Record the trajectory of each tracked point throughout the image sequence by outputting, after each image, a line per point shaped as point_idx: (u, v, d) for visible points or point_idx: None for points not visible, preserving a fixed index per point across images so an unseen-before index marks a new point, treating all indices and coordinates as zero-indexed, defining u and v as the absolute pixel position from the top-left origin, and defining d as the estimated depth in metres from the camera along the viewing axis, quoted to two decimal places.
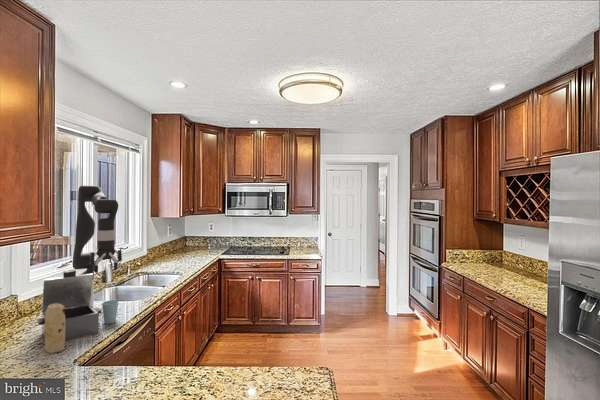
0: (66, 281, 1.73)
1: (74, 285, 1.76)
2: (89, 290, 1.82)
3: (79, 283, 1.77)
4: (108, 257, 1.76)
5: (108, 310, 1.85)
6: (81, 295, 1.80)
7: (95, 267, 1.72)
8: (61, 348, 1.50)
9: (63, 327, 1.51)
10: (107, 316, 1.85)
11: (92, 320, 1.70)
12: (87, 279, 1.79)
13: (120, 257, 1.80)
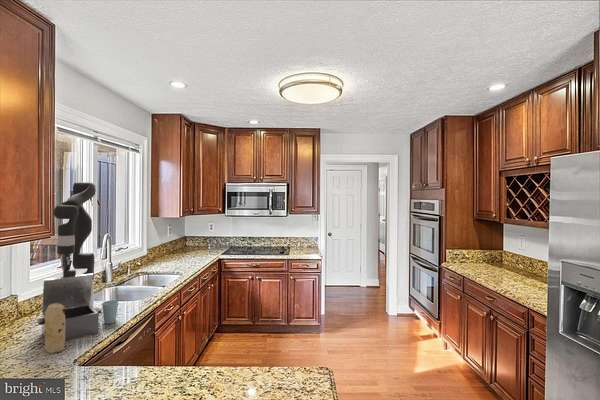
0: (66, 281, 1.73)
1: (74, 285, 1.76)
2: (89, 290, 1.82)
3: (79, 283, 1.77)
4: None
5: (108, 310, 1.85)
6: (81, 295, 1.80)
7: None
8: (61, 348, 1.50)
9: (63, 327, 1.51)
10: (107, 316, 1.85)
11: (92, 320, 1.70)
12: (87, 279, 1.79)
13: None
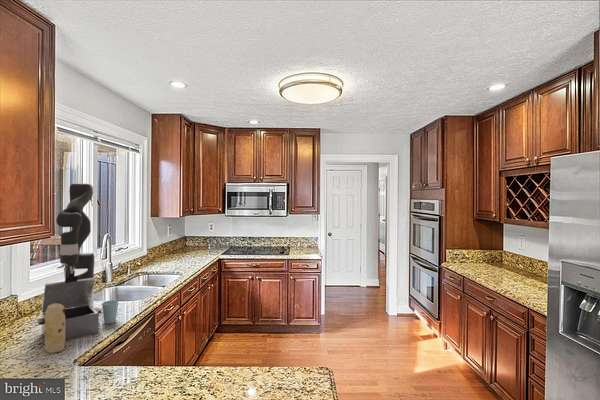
0: (67, 285, 1.71)
1: (75, 289, 1.74)
2: (90, 292, 1.81)
3: (80, 286, 1.75)
4: None
5: (108, 310, 1.85)
6: (82, 297, 1.79)
7: None
8: (61, 348, 1.50)
9: (63, 327, 1.51)
10: (107, 316, 1.85)
11: (92, 320, 1.70)
12: (89, 283, 1.77)
13: None
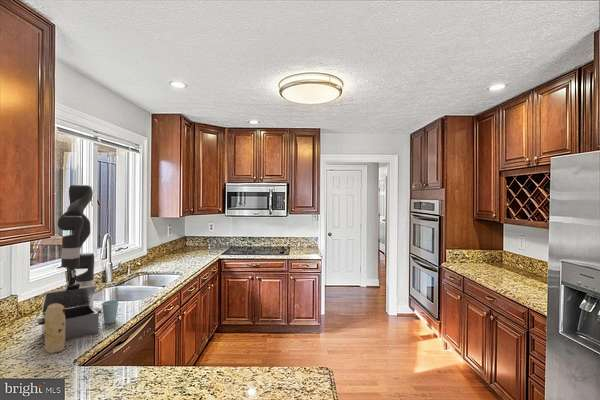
0: (69, 292, 1.68)
1: (76, 294, 1.73)
2: (91, 296, 1.80)
3: (81, 292, 1.73)
4: None
5: (108, 310, 1.85)
6: (82, 299, 1.78)
7: None
8: (61, 348, 1.50)
9: (63, 327, 1.51)
10: (107, 316, 1.85)
11: (92, 320, 1.70)
12: (90, 289, 1.75)
13: None
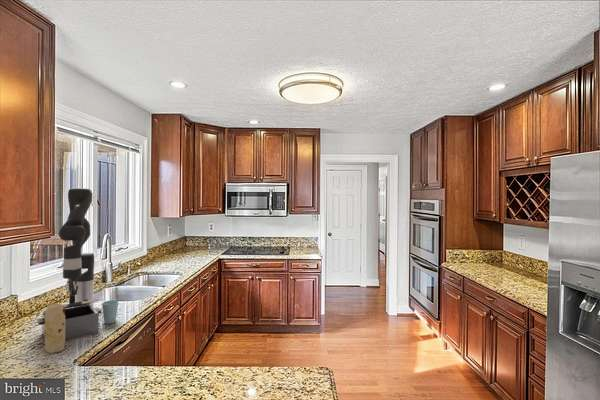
0: (70, 306, 1.66)
1: (77, 305, 1.71)
2: None
3: (82, 304, 1.71)
4: None
5: (108, 310, 1.85)
6: (83, 304, 1.77)
7: (74, 297, 1.68)
8: (61, 348, 1.50)
9: (63, 327, 1.51)
10: (107, 316, 1.85)
11: (92, 320, 1.70)
12: (92, 302, 1.73)
13: None
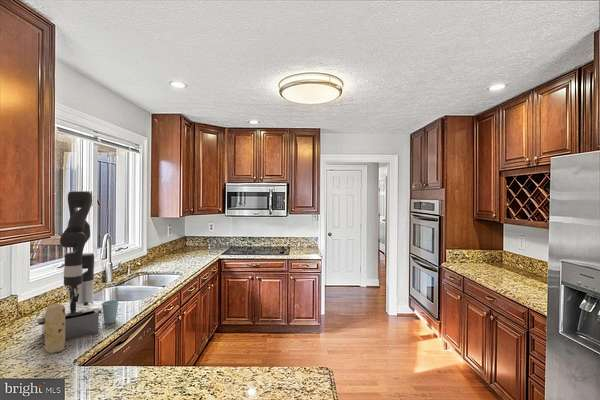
0: None
1: None
2: None
3: None
4: None
5: (108, 310, 1.85)
6: None
7: (75, 305, 1.67)
8: (61, 348, 1.50)
9: (63, 327, 1.51)
10: (107, 316, 1.85)
11: (92, 320, 1.70)
12: None
13: None
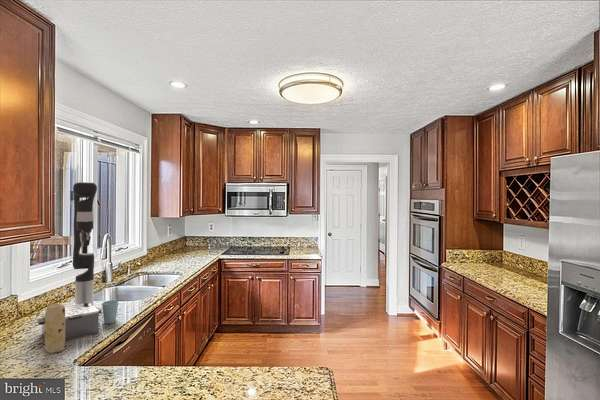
0: None
1: None
2: None
3: None
4: None
5: (108, 310, 1.85)
6: None
7: (87, 248, 1.84)
8: (61, 348, 1.50)
9: (63, 327, 1.51)
10: (107, 316, 1.85)
11: (92, 320, 1.70)
12: None
13: None
